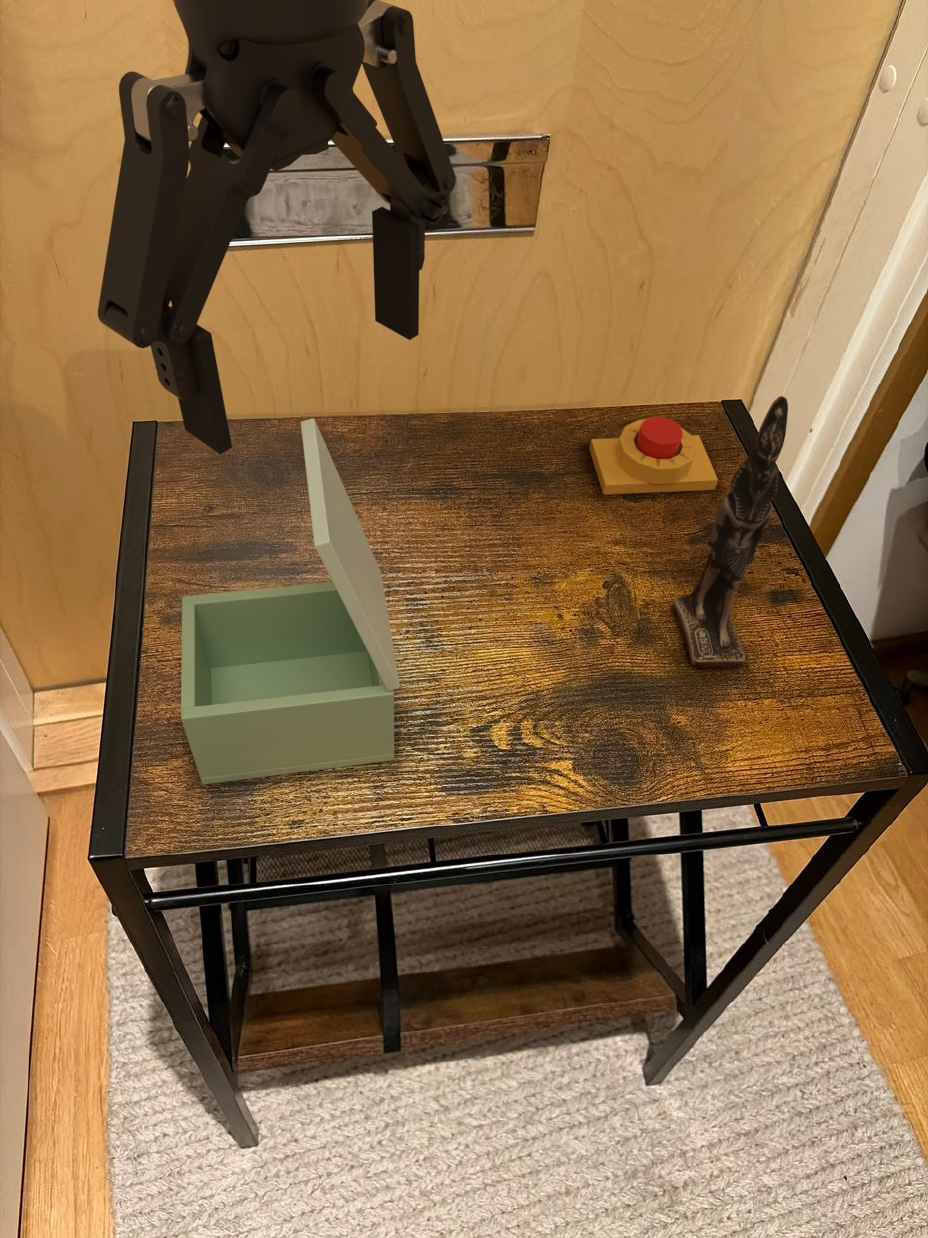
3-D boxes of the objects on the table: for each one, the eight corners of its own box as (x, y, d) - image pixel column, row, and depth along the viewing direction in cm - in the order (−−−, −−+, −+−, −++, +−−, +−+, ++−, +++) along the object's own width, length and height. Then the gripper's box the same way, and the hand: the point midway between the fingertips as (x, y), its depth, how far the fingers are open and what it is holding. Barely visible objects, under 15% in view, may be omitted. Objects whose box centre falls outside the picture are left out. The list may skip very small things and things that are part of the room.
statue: (689, 675, 69) (773, 468, 54) (665, 602, 74) (736, 391, 58) (744, 672, 70) (842, 466, 54) (717, 599, 74) (801, 390, 59)
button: (672, 431, 83) (676, 415, 81) (682, 458, 80) (687, 443, 79) (632, 433, 82) (636, 417, 81) (642, 460, 80) (646, 444, 79)
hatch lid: (313, 545, 46) (329, 541, 46) (300, 421, 52) (313, 417, 52) (387, 691, 57) (400, 687, 57) (369, 574, 63) (380, 571, 63)
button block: (695, 443, 86) (703, 416, 84) (715, 492, 82) (724, 465, 80) (588, 447, 85) (593, 420, 83) (603, 497, 81) (609, 470, 78)
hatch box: (202, 785, 61) (180, 719, 55) (201, 667, 67) (181, 596, 61) (394, 760, 63) (394, 693, 57) (377, 648, 69) (375, 577, 63)
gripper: (419, -177, 42) (416, 265, 58) (-126, -67, 29) (65, 458, 46) (552, -141, 39) (509, 314, 55) (11, -3, 26) (163, 534, 43)
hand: (309, 380), depth 50 cm, fingers open, 13 cm apart
